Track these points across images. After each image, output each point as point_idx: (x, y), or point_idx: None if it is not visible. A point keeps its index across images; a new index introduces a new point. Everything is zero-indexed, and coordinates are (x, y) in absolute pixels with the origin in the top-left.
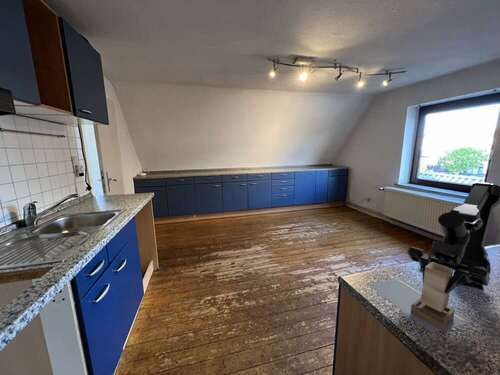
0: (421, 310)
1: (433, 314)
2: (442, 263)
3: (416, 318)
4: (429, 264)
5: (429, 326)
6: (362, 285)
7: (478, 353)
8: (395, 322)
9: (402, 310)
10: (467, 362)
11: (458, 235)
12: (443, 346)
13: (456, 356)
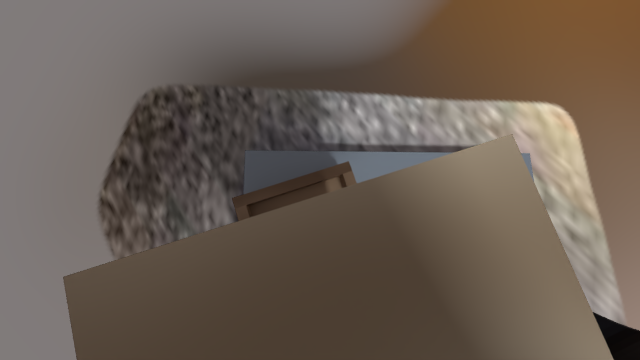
0: (311, 173)
1: (274, 194)
2: None
3: (312, 163)
4: (584, 331)
5: (269, 170)
6: (527, 143)
7: (148, 229)
8: (326, 96)
9: (360, 152)
10: (140, 158)
11: None
12: (205, 149)
13: (166, 149)
